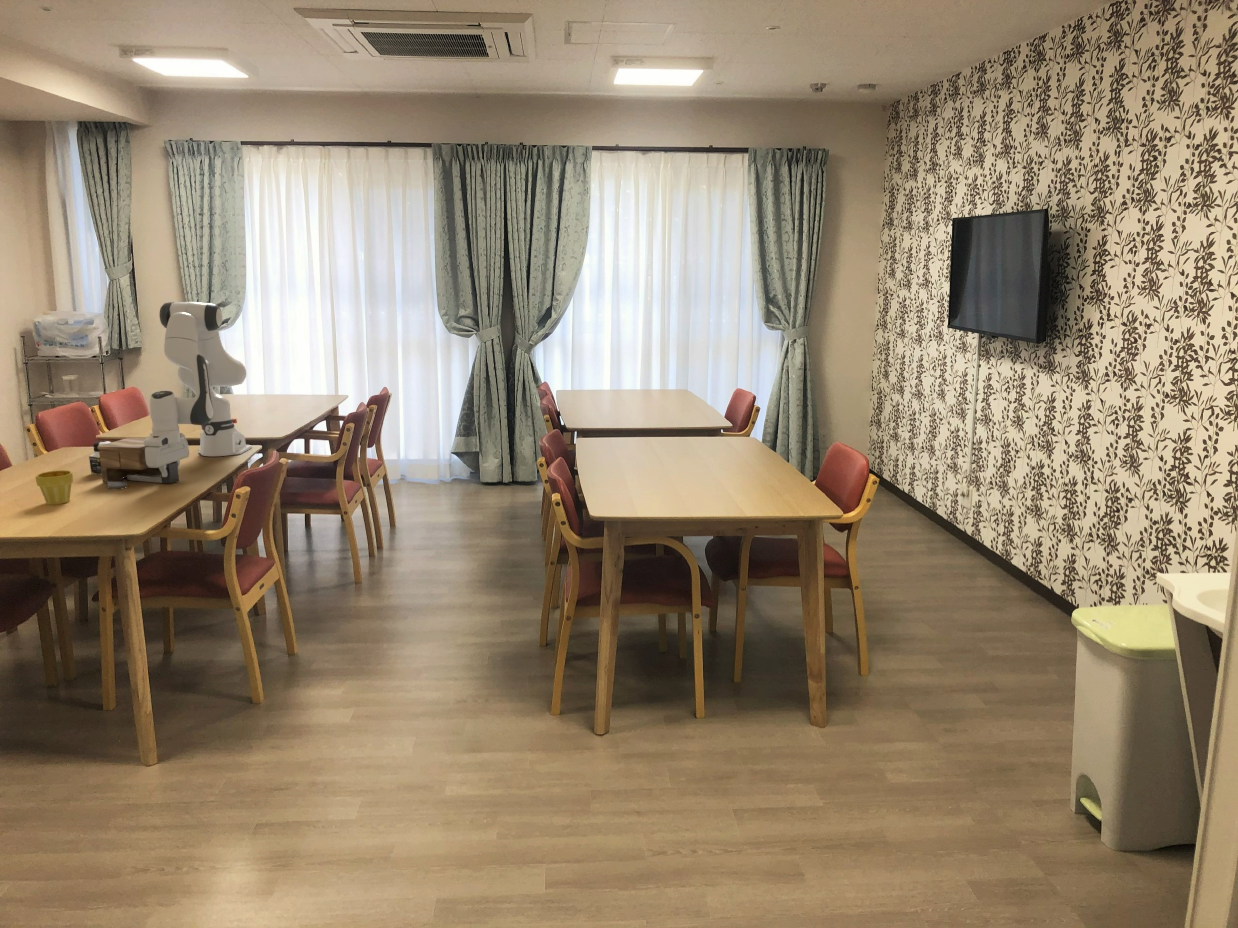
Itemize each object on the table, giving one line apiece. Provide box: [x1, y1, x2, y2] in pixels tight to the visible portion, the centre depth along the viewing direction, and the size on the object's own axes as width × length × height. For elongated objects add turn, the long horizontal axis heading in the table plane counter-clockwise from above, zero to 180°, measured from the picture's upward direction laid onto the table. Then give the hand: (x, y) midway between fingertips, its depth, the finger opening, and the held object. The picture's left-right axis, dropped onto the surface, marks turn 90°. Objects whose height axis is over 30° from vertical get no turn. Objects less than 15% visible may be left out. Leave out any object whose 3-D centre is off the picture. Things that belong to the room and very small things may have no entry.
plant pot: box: [35, 469, 74, 506], centre depth 300 cm, size 10×10×10 cm
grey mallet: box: [126, 462, 180, 485], centre depth 330 cm, size 4×20×7 cm, turn 73°
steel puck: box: [106, 478, 128, 490], centre depth 321 cm, size 6×6×2 cm
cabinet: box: [97, 437, 161, 484], centre depth 333 cm, size 17×16×14 cm
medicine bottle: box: [88, 440, 111, 476], centre depth 342 cm, size 7×7×12 cm
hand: (170, 474), depth 328 cm, fingers closed on grey mallet, 4 cm apart
